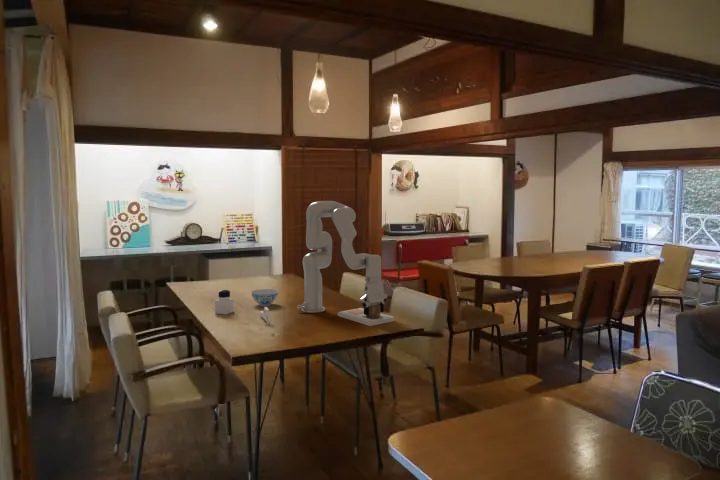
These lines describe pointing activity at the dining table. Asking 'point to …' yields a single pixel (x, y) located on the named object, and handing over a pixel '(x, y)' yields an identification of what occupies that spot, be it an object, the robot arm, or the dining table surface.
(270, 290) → the chinaware
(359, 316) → the pocket board
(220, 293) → the medicine bottle
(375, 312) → the walnut block
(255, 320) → the dining table surface
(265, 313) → the llama figurine
